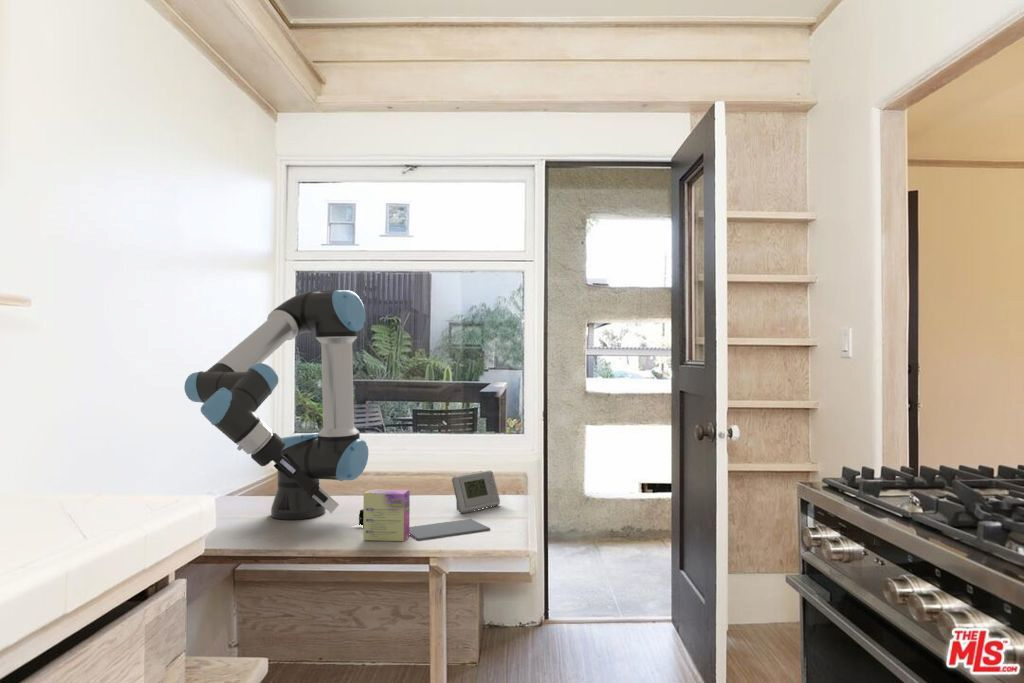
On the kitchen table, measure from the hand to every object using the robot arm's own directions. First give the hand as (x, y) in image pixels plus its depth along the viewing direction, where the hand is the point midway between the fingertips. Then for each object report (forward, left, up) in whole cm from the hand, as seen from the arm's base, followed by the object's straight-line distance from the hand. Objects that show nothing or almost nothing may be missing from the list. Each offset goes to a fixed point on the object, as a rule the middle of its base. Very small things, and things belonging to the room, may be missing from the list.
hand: (334, 508), depth 160 cm
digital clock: (-19, +47, -9) cm, 51 cm away
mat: (0, +29, -9) cm, 30 cm away
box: (0, +13, -9) cm, 16 cm away
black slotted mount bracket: (-17, +13, -10) cm, 23 cm away
